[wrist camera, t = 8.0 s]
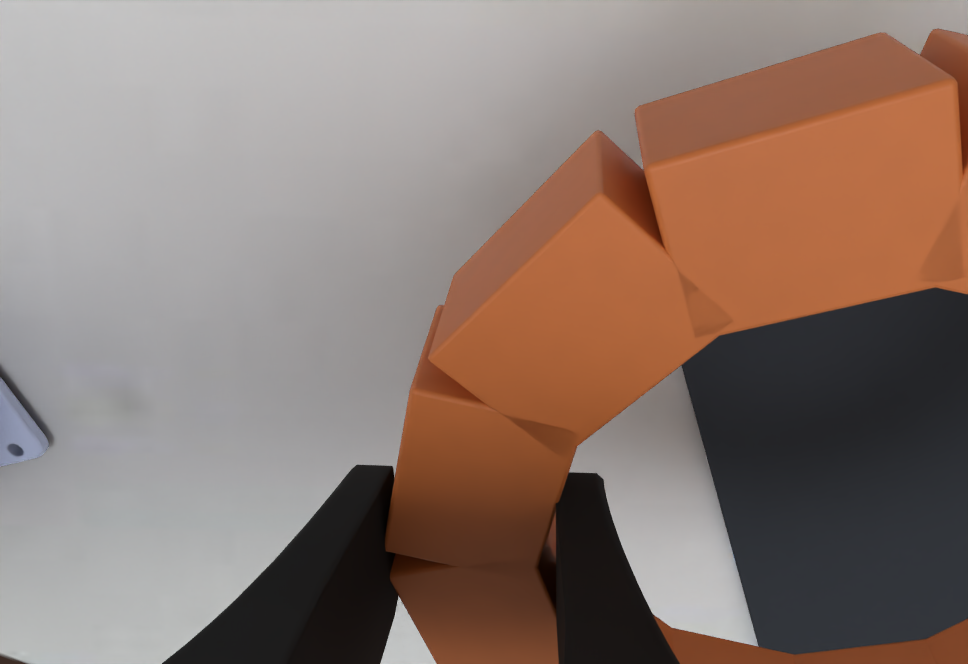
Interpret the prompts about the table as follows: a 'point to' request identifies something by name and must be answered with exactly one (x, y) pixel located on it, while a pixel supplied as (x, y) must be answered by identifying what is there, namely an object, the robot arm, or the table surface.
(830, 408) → the mat
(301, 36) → the table surface
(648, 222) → the ring
